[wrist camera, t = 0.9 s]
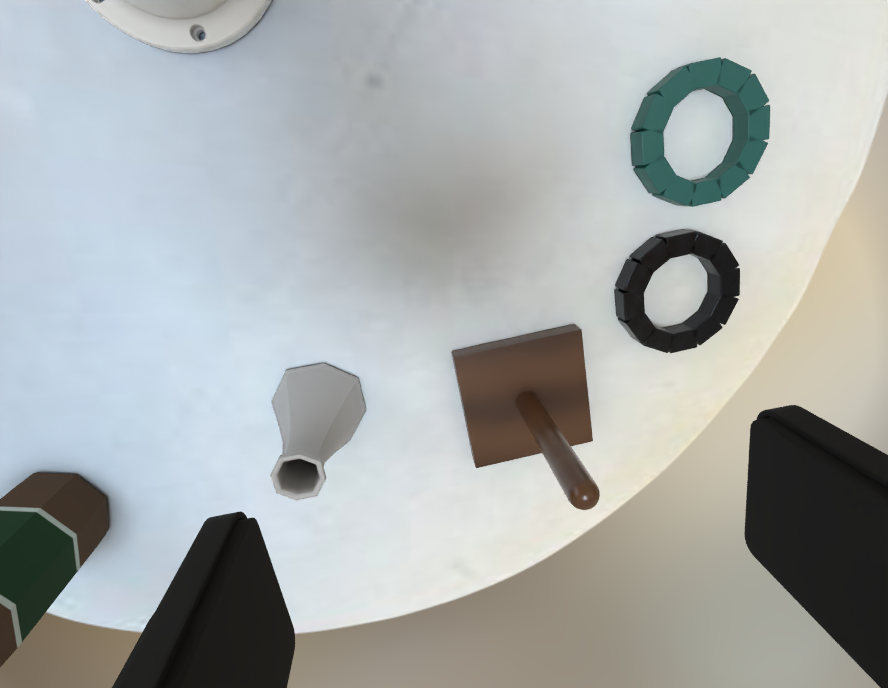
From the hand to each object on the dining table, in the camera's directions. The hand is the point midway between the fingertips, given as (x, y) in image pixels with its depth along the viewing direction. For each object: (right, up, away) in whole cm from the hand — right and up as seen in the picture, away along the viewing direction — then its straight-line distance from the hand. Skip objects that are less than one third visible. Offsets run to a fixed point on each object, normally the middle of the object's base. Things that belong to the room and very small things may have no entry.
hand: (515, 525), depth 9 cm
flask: (-11, -1, +30) cm, 32 cm away
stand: (+5, -1, +31) cm, 32 cm away
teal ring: (+16, +18, +26) cm, 36 cm away
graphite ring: (+17, +8, +30) cm, 35 cm away
